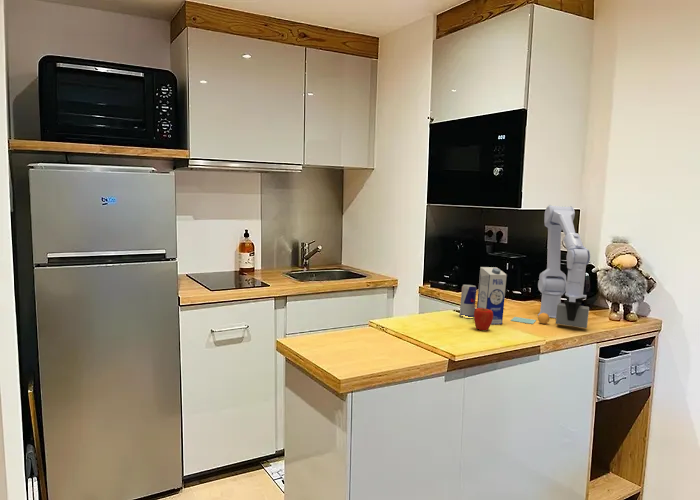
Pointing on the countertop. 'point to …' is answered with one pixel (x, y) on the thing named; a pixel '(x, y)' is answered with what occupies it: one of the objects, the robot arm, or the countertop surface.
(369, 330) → the countertop surface
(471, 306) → the energy drink
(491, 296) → the milk carton
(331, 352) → the countertop surface
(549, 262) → the robot arm
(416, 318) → the countertop surface
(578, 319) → the grey rectangular box
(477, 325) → the apple
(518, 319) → the tape square
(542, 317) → the ball
